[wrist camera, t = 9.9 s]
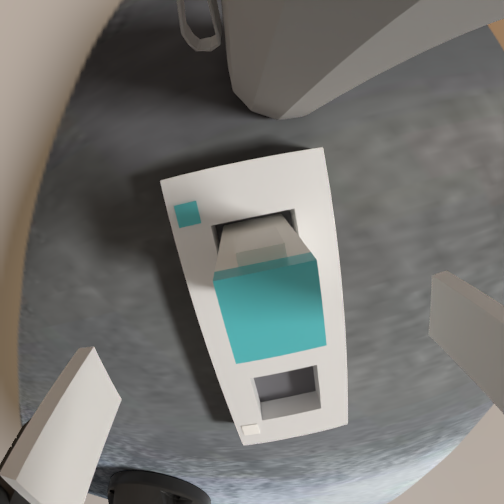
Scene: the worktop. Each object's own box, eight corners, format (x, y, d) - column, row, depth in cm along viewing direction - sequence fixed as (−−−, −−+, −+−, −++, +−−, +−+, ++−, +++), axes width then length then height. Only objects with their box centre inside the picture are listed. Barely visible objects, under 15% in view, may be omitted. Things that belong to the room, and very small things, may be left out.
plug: (236, 278, 22) (235, 364, 13) (221, 216, 21) (208, 266, 11) (290, 267, 22) (326, 345, 13) (279, 205, 21) (314, 244, 11)
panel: (242, 423, 28) (243, 446, 25) (170, 177, 21) (159, 180, 18) (339, 403, 28) (347, 424, 25) (311, 148, 20) (323, 147, 17)
